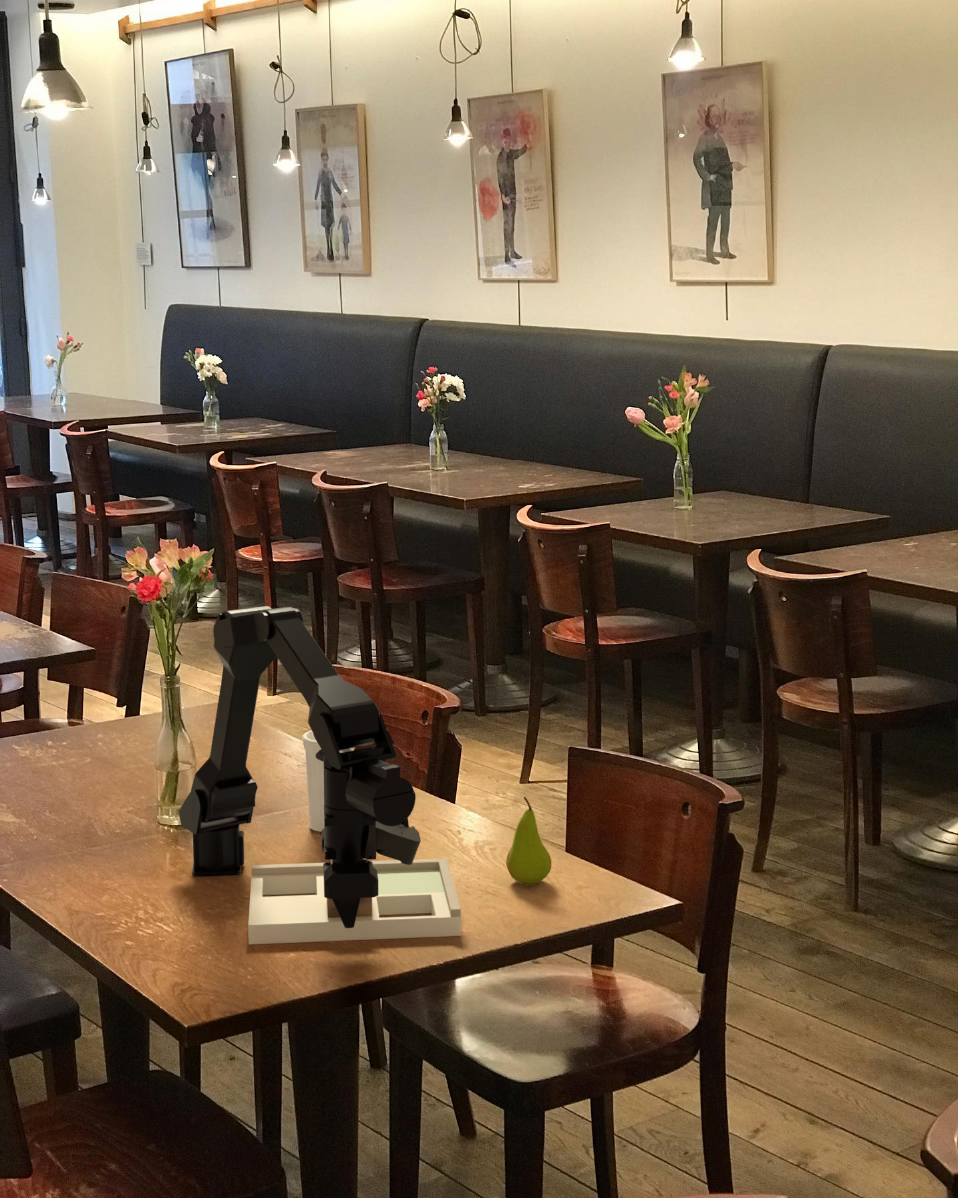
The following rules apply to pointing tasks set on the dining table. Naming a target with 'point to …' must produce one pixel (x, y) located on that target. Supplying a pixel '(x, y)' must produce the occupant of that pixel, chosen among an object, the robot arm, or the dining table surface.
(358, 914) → the walnut block
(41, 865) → the dining table surface
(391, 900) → the box
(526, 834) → the fruit
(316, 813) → the cup
